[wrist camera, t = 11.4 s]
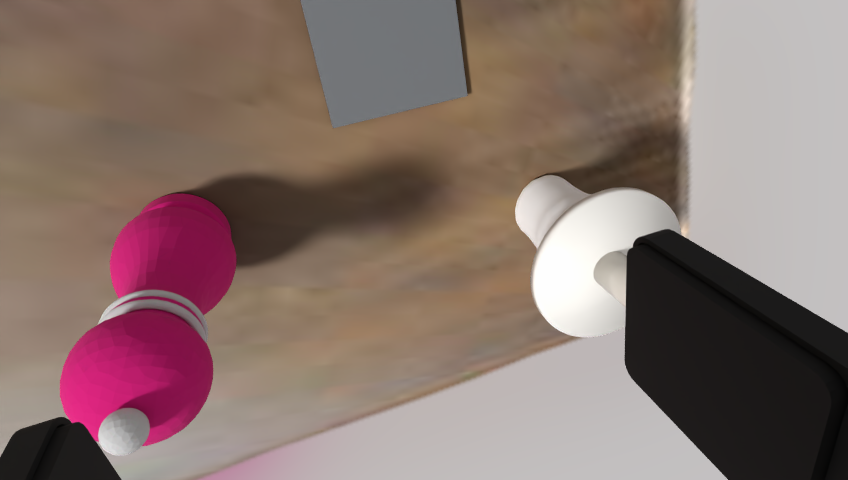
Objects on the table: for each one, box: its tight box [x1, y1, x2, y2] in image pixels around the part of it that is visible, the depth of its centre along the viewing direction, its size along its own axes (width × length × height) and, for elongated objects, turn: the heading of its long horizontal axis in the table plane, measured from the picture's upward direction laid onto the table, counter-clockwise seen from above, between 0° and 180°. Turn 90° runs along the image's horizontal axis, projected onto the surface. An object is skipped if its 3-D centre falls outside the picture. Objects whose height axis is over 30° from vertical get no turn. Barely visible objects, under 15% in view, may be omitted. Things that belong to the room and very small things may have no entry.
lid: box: [530, 187, 681, 337], centre depth 33 cm, size 11×11×6 cm
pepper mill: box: [60, 194, 237, 456], centre depth 29 cm, size 7×7×20 cm
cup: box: [515, 175, 591, 249], centre depth 40 cm, size 9×9×10 cm
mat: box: [300, 0, 468, 128], centre depth 35 cm, size 12×10×1 cm
